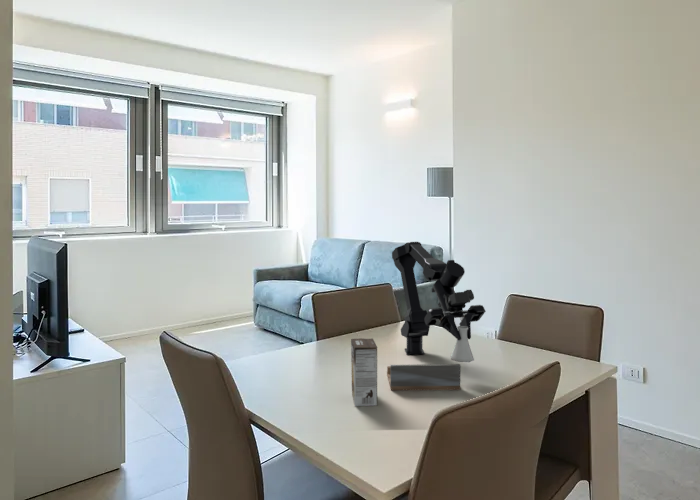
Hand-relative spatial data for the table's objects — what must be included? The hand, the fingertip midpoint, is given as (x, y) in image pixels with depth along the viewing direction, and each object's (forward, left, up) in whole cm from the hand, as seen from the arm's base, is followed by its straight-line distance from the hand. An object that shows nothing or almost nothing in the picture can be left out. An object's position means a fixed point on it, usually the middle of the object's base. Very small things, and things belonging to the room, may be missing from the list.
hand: (464, 339), depth 156 cm
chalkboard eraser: (0, -13, -13) cm, 18 cm away
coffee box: (+13, -31, -13) cm, 36 cm away
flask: (-1, 0, -7) cm, 7 cm away
